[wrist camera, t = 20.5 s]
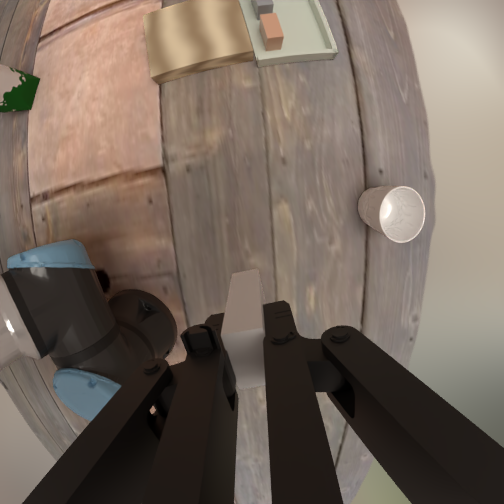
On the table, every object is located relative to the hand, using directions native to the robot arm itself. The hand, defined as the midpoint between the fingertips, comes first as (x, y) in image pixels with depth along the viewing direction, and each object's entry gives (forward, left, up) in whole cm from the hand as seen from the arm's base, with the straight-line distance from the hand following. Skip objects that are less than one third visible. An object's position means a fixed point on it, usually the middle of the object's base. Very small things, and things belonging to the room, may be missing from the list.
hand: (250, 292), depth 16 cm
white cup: (+21, -2, -30) cm, 36 cm away
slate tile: (+8, +37, -26) cm, 46 cm away
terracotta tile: (+8, +30, -26) cm, 40 cm away
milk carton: (-41, +39, -30) cm, 64 cm away
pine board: (-2, +33, -29) cm, 44 cm away
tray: (+13, +33, -29) cm, 46 cm away
